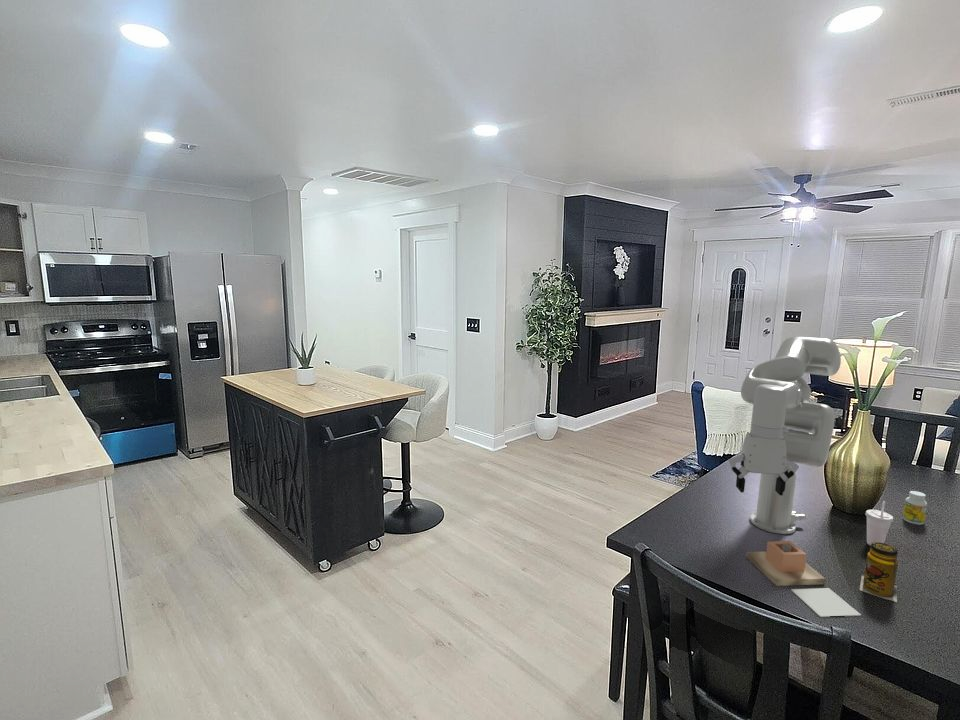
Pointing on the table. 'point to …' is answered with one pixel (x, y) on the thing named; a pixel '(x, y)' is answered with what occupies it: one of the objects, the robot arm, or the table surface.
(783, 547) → the stand
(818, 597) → the mat
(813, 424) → the robot arm
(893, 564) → the condiment
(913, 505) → the supplement bottle
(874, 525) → the smoothie
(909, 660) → the table surface
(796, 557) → the peach open box
